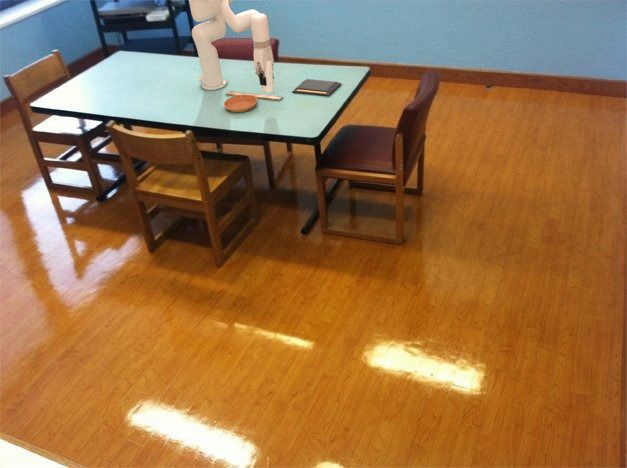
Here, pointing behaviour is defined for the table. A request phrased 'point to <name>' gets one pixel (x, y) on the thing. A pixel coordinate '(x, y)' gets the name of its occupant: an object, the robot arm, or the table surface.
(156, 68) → the table surface
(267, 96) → the ruler
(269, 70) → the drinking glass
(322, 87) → the wallet
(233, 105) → the saucer
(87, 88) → the table surface
